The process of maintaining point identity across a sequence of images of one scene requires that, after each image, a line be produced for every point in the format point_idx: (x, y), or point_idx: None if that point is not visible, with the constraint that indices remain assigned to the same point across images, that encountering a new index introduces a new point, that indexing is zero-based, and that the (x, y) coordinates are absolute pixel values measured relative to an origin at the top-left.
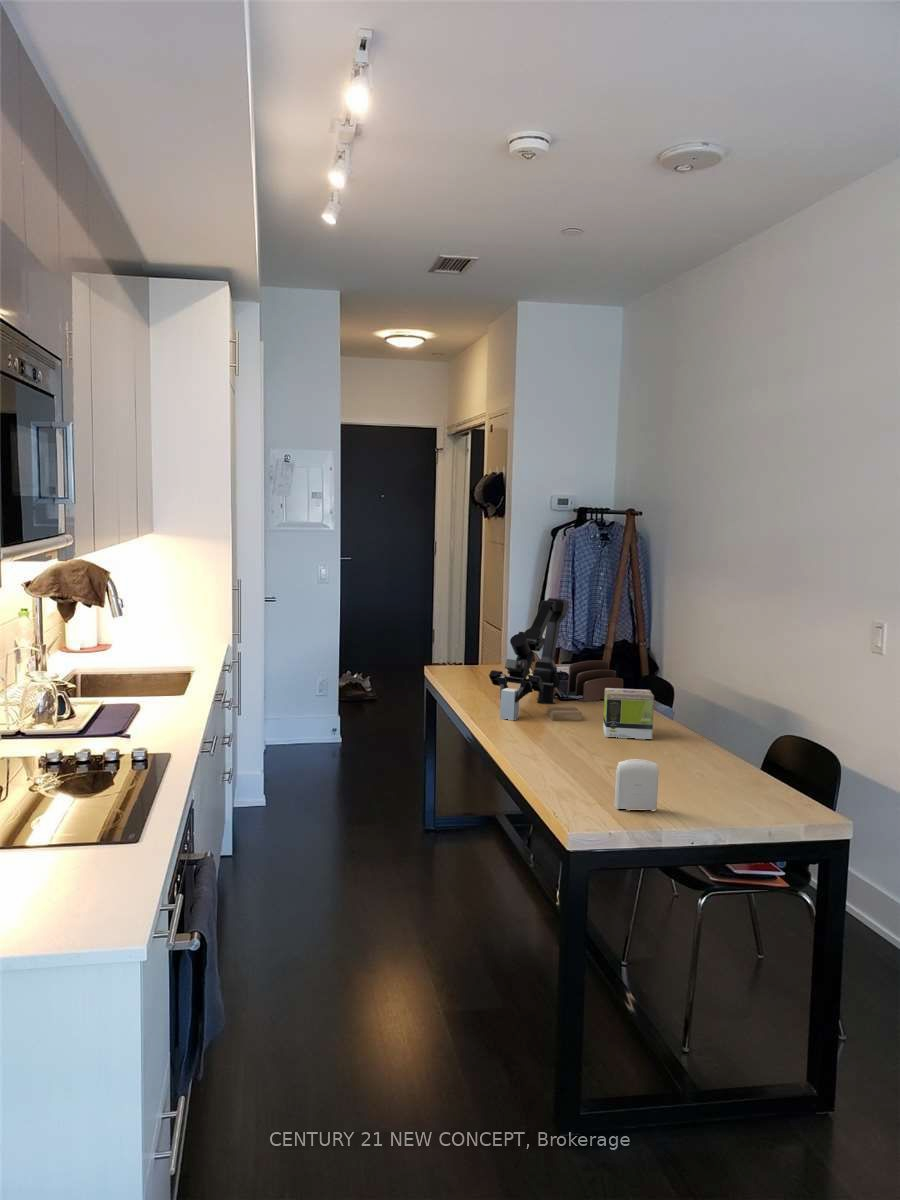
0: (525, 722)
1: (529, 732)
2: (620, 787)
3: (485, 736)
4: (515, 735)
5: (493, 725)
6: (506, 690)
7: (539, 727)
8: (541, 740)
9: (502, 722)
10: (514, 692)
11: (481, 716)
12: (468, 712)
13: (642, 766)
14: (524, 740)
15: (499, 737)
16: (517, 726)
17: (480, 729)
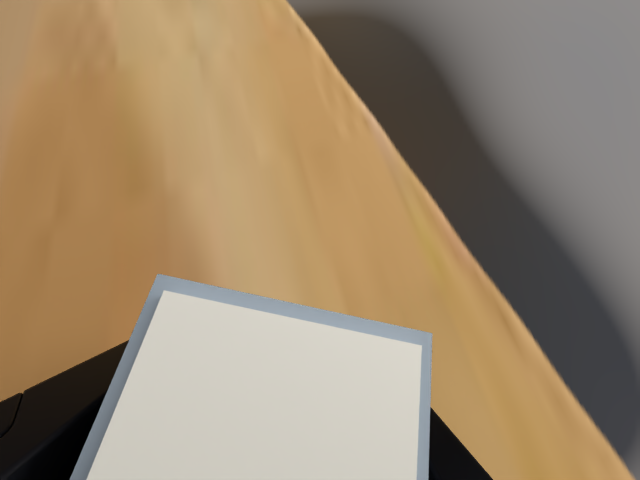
0: None
1: (105, 120)
2: None
3: (306, 27)
4: (181, 61)
5: (324, 189)
6: (333, 326)
7: (22, 243)
8: (47, 20)
9: (292, 274)
10: (163, 275)
11: (467, 378)
12: (596, 462)
13: None
14: (134, 9)
15: (248, 25)
16: (183, 215)
17: (358, 106)
